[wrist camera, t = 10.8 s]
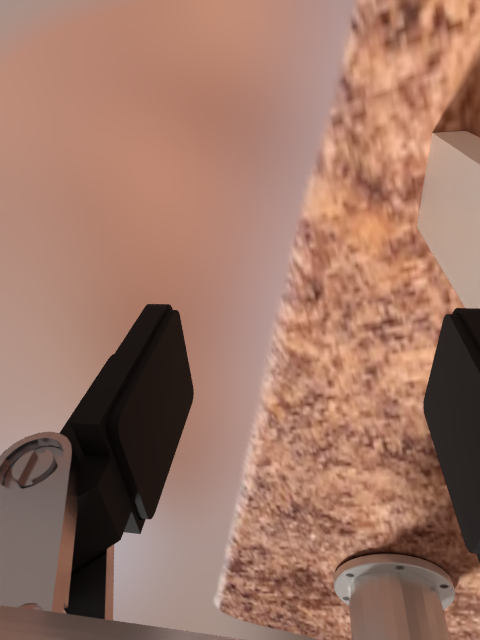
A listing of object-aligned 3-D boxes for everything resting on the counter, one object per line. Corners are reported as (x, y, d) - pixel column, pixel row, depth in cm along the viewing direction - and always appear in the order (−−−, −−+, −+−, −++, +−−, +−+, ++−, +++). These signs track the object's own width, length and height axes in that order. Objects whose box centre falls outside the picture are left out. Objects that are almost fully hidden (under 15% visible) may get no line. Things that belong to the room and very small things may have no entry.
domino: (466, 130, 20) (573, 185, 12) (446, 226, 23) (522, 324, 15) (432, 132, 20) (514, 187, 12) (416, 227, 23) (475, 324, 15)
